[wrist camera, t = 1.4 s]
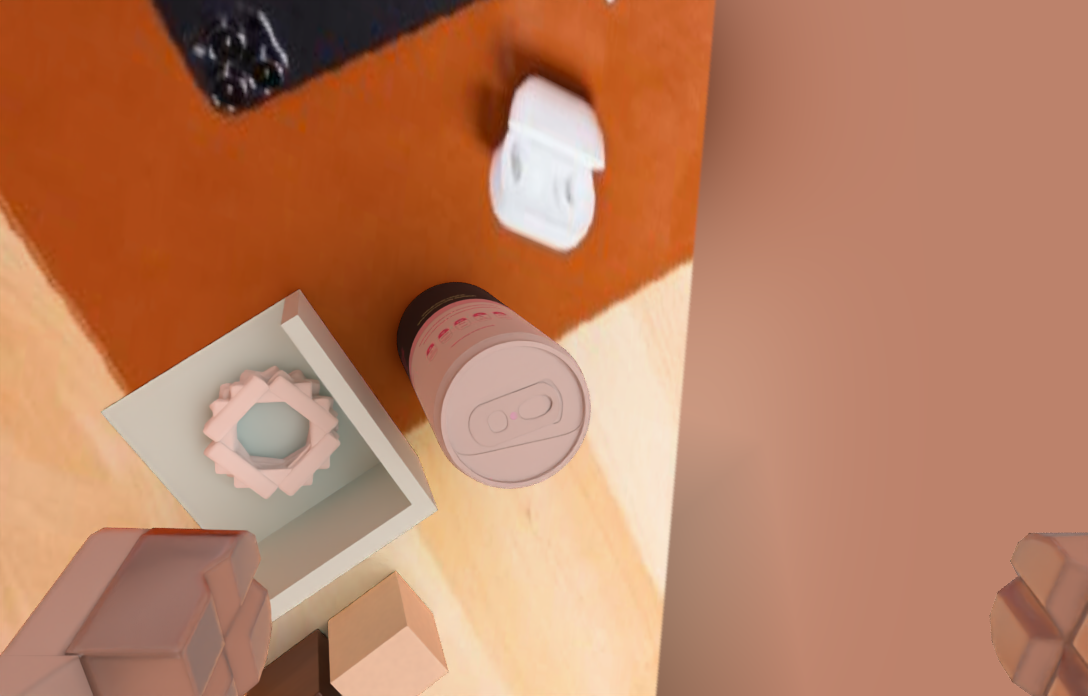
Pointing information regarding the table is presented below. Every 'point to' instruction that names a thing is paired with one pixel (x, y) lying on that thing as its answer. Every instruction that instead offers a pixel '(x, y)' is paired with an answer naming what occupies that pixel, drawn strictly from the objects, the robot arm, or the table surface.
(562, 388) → the beverage can
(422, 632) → the light tan block
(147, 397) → the l-shaped corner panel
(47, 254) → the table surface
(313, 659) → the walnut block
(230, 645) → the robot arm
